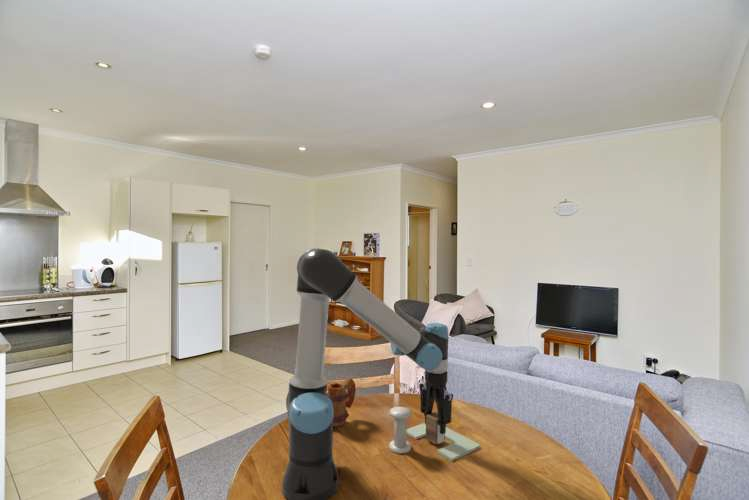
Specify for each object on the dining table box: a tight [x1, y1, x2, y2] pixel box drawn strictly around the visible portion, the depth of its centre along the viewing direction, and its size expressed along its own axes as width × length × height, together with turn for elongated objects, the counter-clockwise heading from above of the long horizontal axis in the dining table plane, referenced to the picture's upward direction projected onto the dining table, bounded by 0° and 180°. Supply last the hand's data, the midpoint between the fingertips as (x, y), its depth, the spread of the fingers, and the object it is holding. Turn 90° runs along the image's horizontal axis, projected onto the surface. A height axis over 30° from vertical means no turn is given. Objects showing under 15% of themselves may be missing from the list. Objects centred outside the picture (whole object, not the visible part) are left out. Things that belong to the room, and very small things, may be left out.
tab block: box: [425, 411, 446, 445], centre depth 127 cm, size 4×4×8 cm
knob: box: [388, 406, 413, 455], centre depth 123 cm, size 7×7×12 cm
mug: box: [326, 377, 357, 427], centre depth 141 cm, size 15×8×15 cm, turn 143°
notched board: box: [407, 422, 481, 462], centre depth 129 cm, size 14×22×1 cm, turn 37°
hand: (434, 438), depth 127 cm, fingers closed on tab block, 4 cm apart
